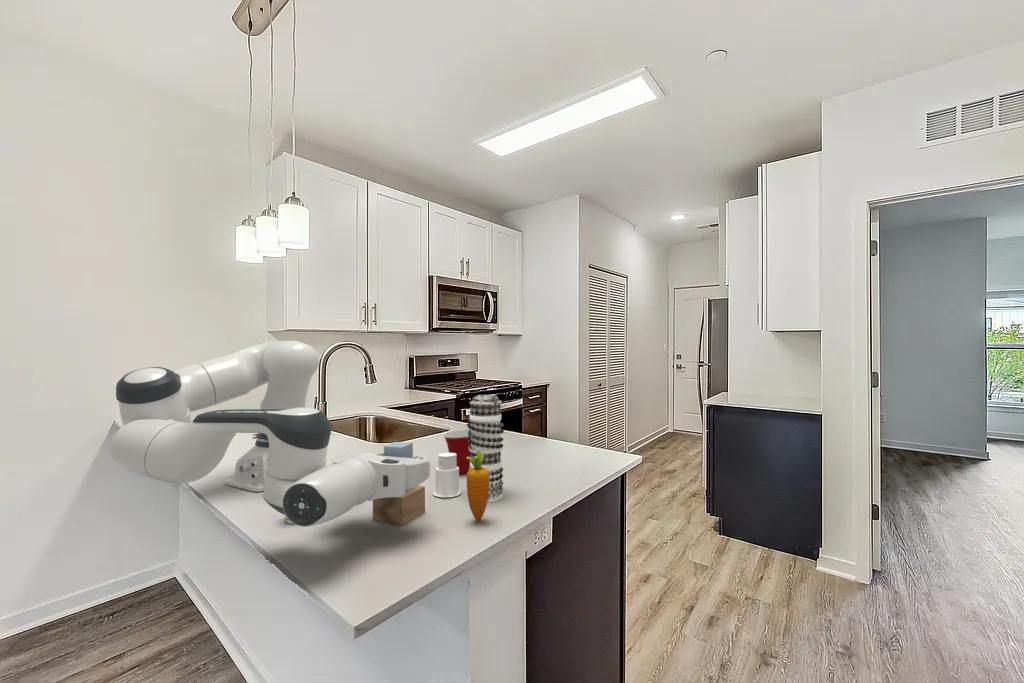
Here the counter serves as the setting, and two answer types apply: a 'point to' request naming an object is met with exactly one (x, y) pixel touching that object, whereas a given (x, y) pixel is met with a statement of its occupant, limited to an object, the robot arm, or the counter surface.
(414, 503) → the walnut block
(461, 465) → the plastic cup
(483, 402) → the decorative candle
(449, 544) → the counter surface
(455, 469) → the downlight
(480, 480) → the carrot
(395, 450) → the slate pillar
